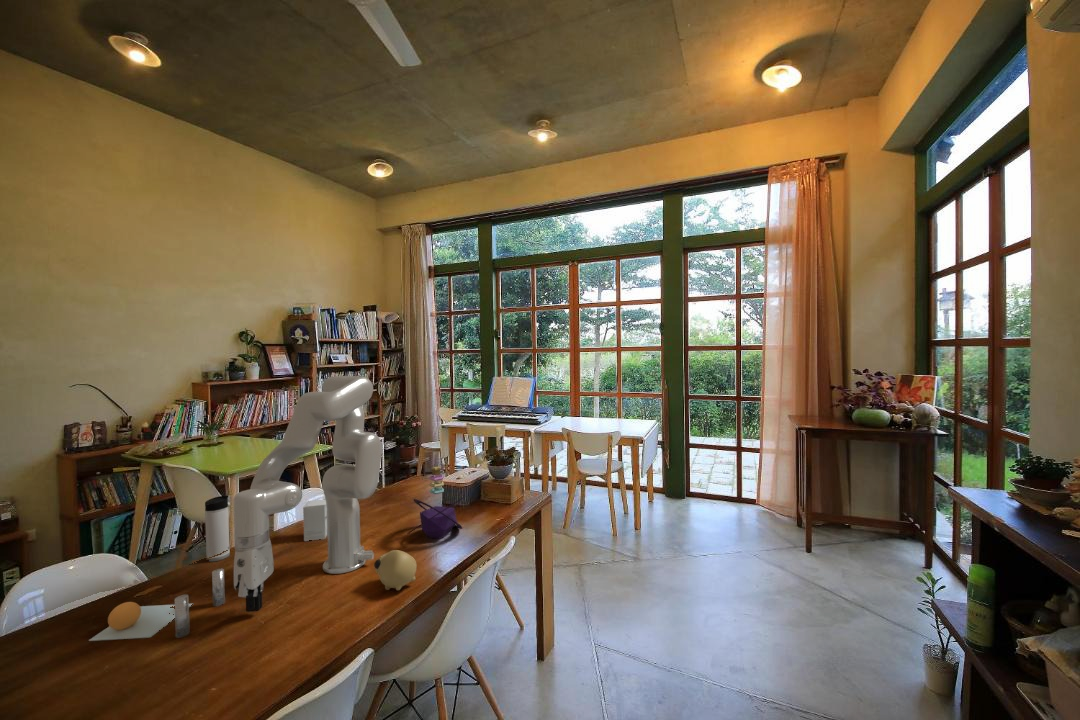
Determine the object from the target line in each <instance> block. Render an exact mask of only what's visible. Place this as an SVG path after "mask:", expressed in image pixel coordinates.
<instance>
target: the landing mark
mask: <svg viewBox="0 0 1080 720" xmlns="http://www.w3.org/2000/svg"><path fill="white" fill-rule="evenodd" d="M192 604H193V603H189V608H190V607H192V606H193V605H192ZM191 605H192V606H191ZM139 606H140V605H139ZM172 606H173V607H174V606H175V604H162V605H161V604H160V605H159V604H158V605H145V606H144V605H142V606H140V608H141V614H140V617H139V619H138V620H137V621H136V622H135V623H134V624H133V625H132V626H130V627H128V628H126V629H122V630H116V629H113V628H111V627H110V626H109V625H108V627H107V628H105V629H103V630H101V631H100V632H99V633H97V634H96V635H94V636H92V638H91V637H90V639H88V641H89V642H95V641H96V642H97V641H113V640H124V639H125V640H127V639H128V640H131V639H146V638H147V639H148V638H152V637H153V636H155V635H156V634H157V633H158V632H160V631H161V630H162V629H163V627H164V628H165V627H166V626H167V625H169V624H170V623H171V622H173V621H174V620H175V619H174V618H175V609H174V608H170V607H172ZM169 613H170V614H169ZM173 614H174V615H173ZM173 619H174V620H173ZM172 620H173V621H172ZM169 622H170V623H169ZM168 623H169V624H168ZM159 630H160V631H159Z"/></svg>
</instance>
